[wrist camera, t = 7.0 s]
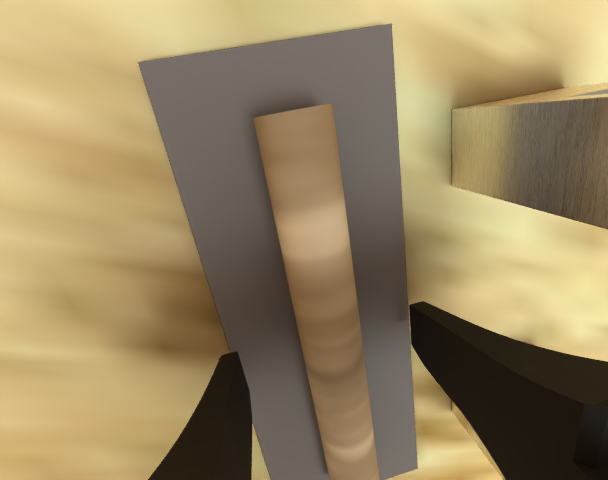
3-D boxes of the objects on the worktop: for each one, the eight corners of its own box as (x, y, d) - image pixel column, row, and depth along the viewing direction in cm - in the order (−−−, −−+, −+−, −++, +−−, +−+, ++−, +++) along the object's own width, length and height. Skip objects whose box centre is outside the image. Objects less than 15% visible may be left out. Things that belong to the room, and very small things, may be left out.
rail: (368, 459, 17) (390, 507, 15) (326, 475, 17) (342, 527, 15) (319, 107, 11) (344, 101, 9) (250, 119, 10) (258, 116, 8)
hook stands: (529, 386, 19) (669, 511, 13) (451, 411, 18) (559, 553, 12) (565, 87, 13) (855, 53, 7) (452, 109, 12) (660, 92, 6)
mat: (413, 460, 19) (417, 468, 18) (280, 503, 18) (281, 514, 17) (385, 28, 11) (391, 23, 10) (142, 65, 10) (138, 62, 9)
